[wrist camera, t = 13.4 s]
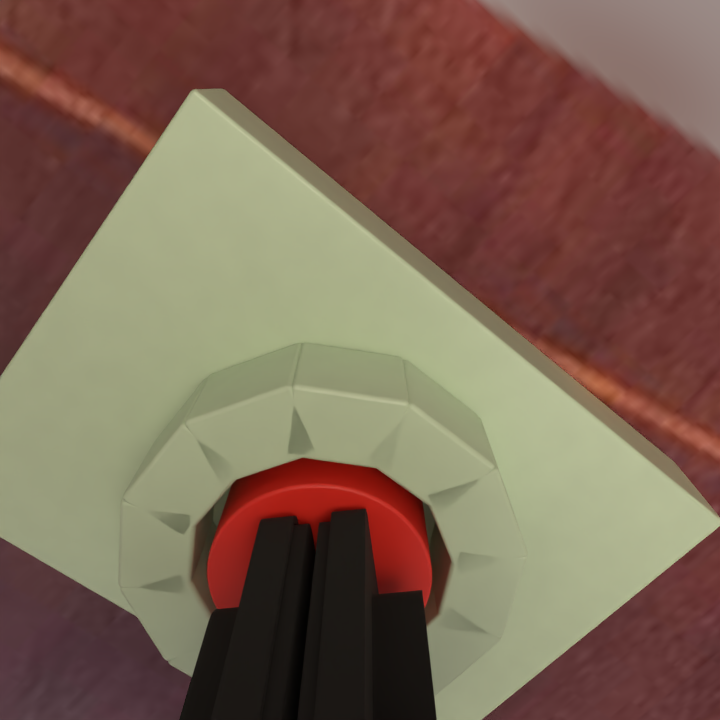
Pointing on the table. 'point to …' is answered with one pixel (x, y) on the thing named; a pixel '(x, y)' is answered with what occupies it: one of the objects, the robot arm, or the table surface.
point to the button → (314, 505)
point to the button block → (317, 413)
